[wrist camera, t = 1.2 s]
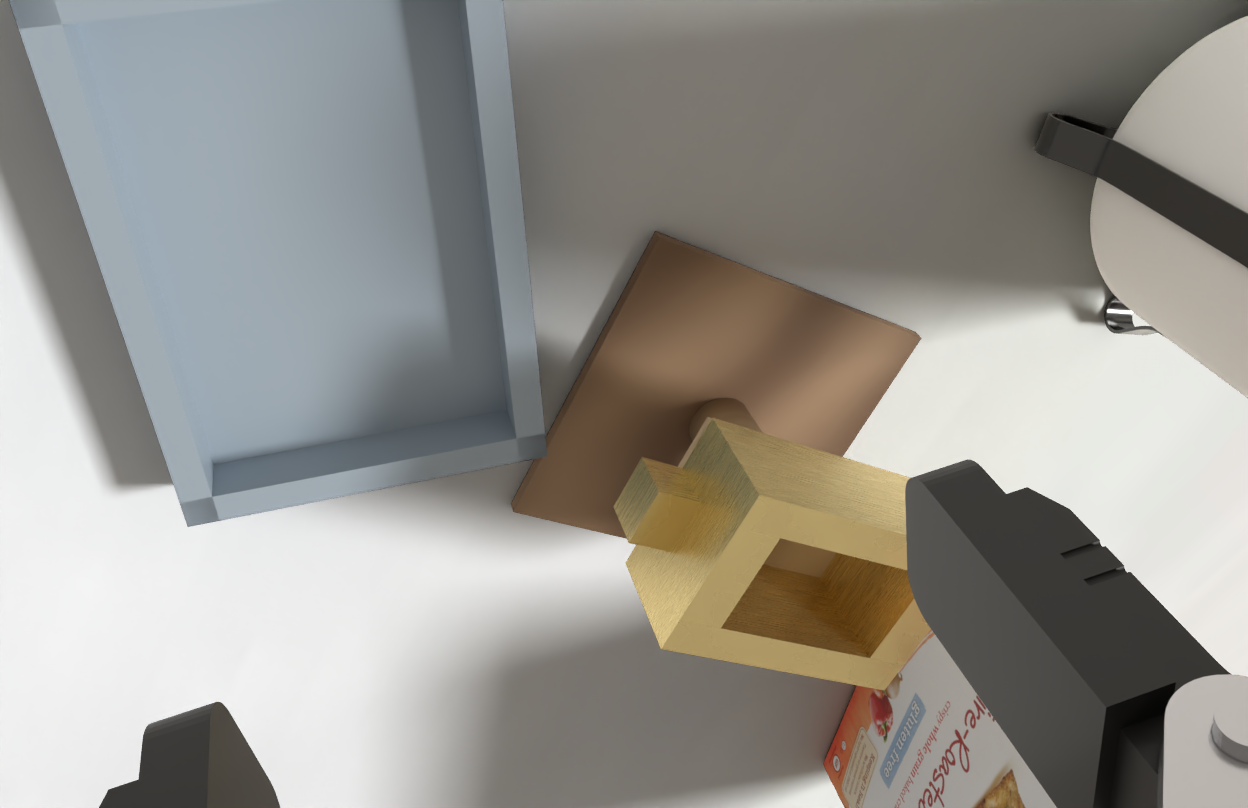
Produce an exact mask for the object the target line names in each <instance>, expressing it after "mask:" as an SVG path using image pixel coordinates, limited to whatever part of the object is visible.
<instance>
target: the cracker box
mask: <svg viewBox="0 0 1248 808" xmlns="http://www.w3.org/2000/svg"><path fill="white" fill-rule="evenodd" d="M824 767H825V769H826V771H827V773H828V775H829V778H830V780H831V782H832V783H833V785H834V787H835V789H836V791H837V794H838V796H839V798H840V800H841V801H842V803H843V805H844V807H845V808H1057V807H1056V806H1055V804H1054V803H1053V801H1052V800H1051V799H1050V797H1049V796H1048V794H1047V793H1046V791H1045V790H1044V789H1043V787H1042V786H1041V784H1040V783H1039V781H1038V780H1037V779H1036V777H1035V776H1034V774H1033V773H1032V772H1031V770H1030V769H1029V767H1028V766H1027V764H1026V763H1025V762H1024V760H1023V759H1022V757H1021V756H1020V754H1019V753H1018V752H1017V750H1016V749H1015V747H1014V746H1013V745H1012V743H1011V742H1010V740H1009V739H1008V737H1007V736H1006V735H1005V733H1004V732H1003V730H1002V729H1001V727H1000V726H999V725H998V723H997V722H996V720H995V719H994V718H993V716H992V715H991V713H990V712H989V710H988V709H987V708H986V706H985V705H984V703H983V702H982V700H981V699H980V698H979V696H978V695H977V693H976V692H975V691H974V689H973V688H972V686H971V685H970V683H969V682H968V681H967V679H966V678H965V676H964V675H963V673H962V672H961V671H960V669H959V668H958V666H957V665H956V664H955V662H954V661H953V659H952V658H951V656H950V655H949V654H948V652H947V651H946V649H945V648H944V646H943V645H942V644H941V642H940V641H939V639H938V638H937V637H936V635H935V634H934V632H933V631H932V629H931V630H930V631H929V633H928V634H927V635H926V636H925V638H924V639H923V640H922V642H921V643H920V644H919V646H918V647H917V648H916V650H915V651H914V652H913V654H912V655H911V656H910V657H909V659H908V660H907V661H906V663H905V664H904V665H903V667H902V668H901V669H900V671H899V672H898V673H897V675H896V676H895V677H894V678H893V680H892V681H891V682H890V684H889V685H888V686H887V688H886V689H885V690H879V689H874V688H868V687H863V686H858V685H857V686H856V688H855V691H854V693H853V695H852V698H851V700H850V702H849V704H848V707H847V709H846V712H845V714H844V716H843V719H842V721H841V724H840V726H839V728H838V731H837V733H836V735H835V737H834V740H833V742H832V745H831V747H830V749H829V751H828V754H827V756H826V758H825V761H824Z"/></svg>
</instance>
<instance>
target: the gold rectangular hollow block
mask: <svg viewBox="0 0 1248 808" xmlns="http://www.w3.org/2000/svg"><path fill="white" fill-rule="evenodd" d="M909 479H910V478H909V477H906V476H903V475H899V474H896V473H893V472H890V471H886V470H883V469H880V468H877V467H873V466H870V465H867V464H863V463H860V462H857V461H854V460H850V459H847V458H844V457H840V456H837V455H834V454H831V453H827V452H824V451H821V450H818V449H814V448H811V447H808V446H804V445H801V444H798V443H795V442H791V441H788V440H785V439H781V438H778V437H775V436H772V435H768V434H765V433H762V432H759V431H755V430H752V429H749V428H745V427H742V426H739V425H736V424H732V423H729V422H726V421H722V420H719V419H716V418H713V417H712V419H711V421H710V422H709V424H708V426H707V427H706V429H705V431H704V432H703V434H702V436H701V437H700V439H699V441H698V442H697V444H696V446H695V447H694V449H693V451H692V452H691V454H690V456H689V457H688V459H687V461H686V463H685V464H684V466H683V468H680V467H676V466H673V465H669V464H666V463H662V462H658V461H655V460H651V459H647V458H644V457H642V458H641V460H640V461H639V463H638V465H637V467H636V468H635V470H634V472H633V474H632V475H631V477H630V479H629V480H628V482H627V484H626V486H625V487H624V489H623V491H622V493H621V494H620V496H619V498H618V500H617V501H616V503H615V505H614V509H615V512H616V514H617V516H618V519H619V521H620V523H621V526H622V528H623V530H624V533H625V535H626V537H627V540H628V542H629V543H632V544H637V545H636V546H635V548H634V550H633V551H632V553H631V555H630V556H629V558H628V560H627V561H626V565H627V568H628V570H629V573H630V575H631V577H632V580H633V582H634V585H635V587H636V590H637V592H638V594H639V597H640V599H641V602H642V604H643V607H644V609H645V611H646V614H647V616H648V619H649V621H650V624H651V626H652V628H653V631H654V633H655V636H656V638H657V640H658V643H659V645H660V648H661V649H663V650H668V651H674V652H679V653H685V654H690V655H695V656H701V657H706V658H712V659H717V660H722V661H728V662H733V663H739V664H744V665H749V666H755V667H760V668H766V669H771V670H777V671H782V672H787V673H793V674H798V675H804V676H809V677H814V678H820V679H825V680H831V681H836V682H841V683H847V684H852V685H858V686H863V687H868V688H874V689H879V690H885V689H886V688H887V686H888V685H889V684H890V682H891V681H892V680H893V678H894V677H895V676H896V675H897V673H898V672H899V671H900V669H901V668H902V667H903V665H904V664H905V663H906V661H907V660H908V659H909V657H910V656H911V655H912V654H913V652H914V651H915V650H916V648H917V647H918V646H919V644H920V643H921V642H922V640H923V639H924V638H925V636H926V635H927V634H928V633H929V631H930V630H931V628H930V627H929V625H928V624H927V622H926V621H925V619H924V617H923V616H922V614H921V612H920V610H919V608H918V606H917V603H916V601H915V599H914V596H913V593H912V590H911V587H910V583H909V578H908V571H907V541H906V504H905V488H906V483H907V481H908V480H909ZM780 538H781V539H785V540H789V541H793V542H797V543H801V544H805V545H809V546H813V547H817V548H821V549H825V550H829V551H833V552H837V554H836V555H835V557H834V558H833V560H832V561H831V563H830V564H829V566H828V567H827V568H826V570H825V571H824V573H823V574H822V576H821V577H820V578H819V577H815V576H811V575H806V574H802V573H798V572H794V571H790V570H785V569H781V568H777V567H773V566H769V565H764V562H765V561H766V559H767V558H768V556H769V555H770V553H771V552H772V550H773V549H774V547H775V546H776V544H777V543H778V541H779V539H780Z"/></svg>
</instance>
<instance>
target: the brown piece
mask: <svg viewBox="0 0 1248 808" xmlns="http://www.w3.org/2000/svg"><path fill="white" fill-rule="evenodd" d="M920 339H921V337H920V336H919V335H918V334H917V333H916V332H914V331H912V330H909V329H907V328H904V327H901V326H899V325H896V324H894V323H891V322H888V321H886V320H883V319H881V318H878V317H876V316H873V315H870V314H868V313H865V312H863V311H860V310H857V309H855V308H852V307H850V306H847V305H845V304H842V303H839V302H837V301H834V300H832V299H829V298H826V297H824V296H821V295H819V294H816V293H813V292H811V291H808V290H806V289H803V288H801V287H798V286H795V285H793V284H790V283H788V282H785V281H782V280H780V279H777V278H775V277H772V276H770V275H767V274H764V273H762V272H759V271H757V270H754V269H751V268H749V267H746V266H744V265H741V264H739V263H736V262H733V261H731V260H728V259H726V258H723V257H720V256H718V255H715V254H713V253H710V252H707V251H705V250H702V249H700V248H697V247H695V246H692V245H689V244H687V243H684V242H682V241H679V240H676V239H674V238H671V237H669V236H666V235H664V234H661V233H658V232H656V231H655V233H654V235H653V237H652V238H651V240H650V242H649V244H648V246H647V248H646V250H645V252H644V254H643V255H642V257H641V259H640V261H639V263H638V265H637V267H636V269H635V271H634V272H633V274H632V276H631V278H630V280H629V282H628V284H627V286H626V288H625V289H624V291H623V293H622V295H621V297H620V299H619V301H618V303H617V305H616V306H615V308H614V310H613V312H612V314H611V316H610V318H609V320H608V322H607V323H606V325H605V327H604V329H603V331H602V333H601V335H600V337H599V339H598V340H597V342H596V344H595V346H594V348H593V350H592V352H591V354H590V356H589V357H588V359H587V361H586V363H585V365H584V367H583V369H582V371H581V373H580V374H579V376H578V378H577V380H576V382H575V384H574V386H573V388H572V390H571V391H570V393H569V395H568V397H567V399H566V401H565V403H564V405H563V407H562V408H561V410H560V412H559V414H558V416H557V418H556V420H555V422H554V424H553V425H552V427H551V429H550V431H549V433H548V435H547V437H546V447H547V457H542V458H537V459H534V461H533V463H532V465H531V467H530V469H529V471H528V473H527V475H526V476H525V478H524V480H523V482H522V484H521V486H520V488H519V490H518V492H517V494H516V495H515V497H514V499H513V501H512V503H511V505H512V509H513V512H516V513H520V514H525V515H529V516H533V517H537V518H542V519H546V520H550V521H554V522H559V523H563V524H567V525H571V526H576V527H580V528H584V529H588V530H593V531H597V532H601V533H605V534H610V535H614V536H618V537H622V538H627V537H626V535H625V533H624V530H623V528H622V526H621V523H620V521H619V519H618V516H617V514H616V512H615V509H614V505H615V503H616V501H617V500H618V498H619V496H620V494H621V493H622V491H623V489H624V487H625V486H626V484H627V482H628V480H629V479H630V477H631V475H632V474H633V472H634V470H635V468H636V467H637V465H638V463H639V461H640V460H641V458H642V457H644V458H647V459H651V460H655V461H658V462H662V463H666V464H669V465H673V466H676V467H680V468H683V466H684V464H685V463H686V461H687V459H688V457H689V456H690V454H691V452H692V451H693V449H694V447H695V446H696V444H697V442H698V441H699V439H700V437H701V436H702V434H703V432H704V431H705V429H706V427H707V426H708V424H709V422H710V421H711V419H712V417H713V418H716V419H719V420H722V421H726V422H729V423H732V424H736V425H739V426H742V427H745V428H749V429H752V430H755V431H759V432H762V433H765V434H768V435H772V436H775V437H778V438H781V439H785V440H788V441H791V442H795V443H798V444H801V445H804V446H808V447H811V448H814V449H818V450H821V451H824V452H827V453H831V454H834V455H837V456H840V457H843V455H844V454H845V452H846V451H847V449H848V448H849V446H850V445H851V443H852V442H853V440H854V439H855V437H856V436H857V434H858V433H859V431H860V430H861V428H862V427H863V425H864V424H865V422H866V421H867V419H868V418H869V416H870V415H871V413H872V412H873V410H874V409H875V407H876V406H877V404H878V403H879V401H880V400H881V398H882V397H883V395H884V394H885V392H886V391H887V389H888V388H889V386H890V385H891V383H892V382H893V380H894V379H895V377H896V376H897V374H898V373H899V371H900V370H901V368H902V367H903V365H904V364H905V362H906V361H907V359H908V358H909V356H910V355H911V353H912V352H913V350H914V349H915V347H916V346H917V344H918V342H919V341H920ZM836 554H837V552H833V551H829V550H825V549H821V548H817V547H813V546H809V545H805V544H801V543H797V542H793V541H789V540H785V539H781V538H780V539H779V541H778V543H777V544H776V546H775V547H774V549H773V550H772V552H771V553H770V555H769V556H768V558H767V559H766V561H765V562H764V565H769V566H773V567H777V568H781V569H785V570H790V571H794V572H798V573H802V574H806V575H811V576H815V577H819V578H820V577H821V576H822V574H823V573H824V571H825V570H826V568H827V567H828V566H829V564H830V563H831V561H832V560H833V558H834V557H835V555H836Z"/></svg>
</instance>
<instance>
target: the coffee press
mask: <svg viewBox="0 0 1248 808" xmlns="http://www.w3.org/2000/svg"><path fill="white" fill-rule="evenodd" d="M1034 150H1035V151H1036V152H1037V153H1039V154H1041V155H1043V156H1045V157H1047V158H1050V159H1052V160H1055V161H1058V162H1060V163H1063V164H1066V165H1068V166H1071V167H1074V168H1076V169H1079V170H1082V171H1084V172H1087V173H1089V174H1091V175H1094V176H1096V177H1097V180H1096V184H1095V188H1094V193H1093V198H1092V205H1091V216H1090V231H1091V242H1092V248H1093V253H1094V257H1095V260H1096V263H1097V266H1098V269H1099V271H1100V273H1101V276H1102V277H1103V279H1104V281H1105V283H1106V284H1107V286H1108V287H1109V289H1110V290H1111V291H1112V293H1113V294H1114V295H1115V296H1114V297H1113V298H1112V299H1111V300H1110V301H1109V302H1108V304H1107V306H1106V308H1105V313H1104V319H1105V324H1106V326H1107V328H1108V329H1109V330H1110V331H1111V332H1113V333H1118V334H1134V335H1148V334H1153V333H1160V334H1161V335H1163V336H1165V337H1166V338H1167V339H1169V340H1170V341H1172V342H1173V343H1174V344H1176V345H1177V346H1178V347H1180V348H1181V349H1182V350H1184V351H1185V352H1186V353H1188V354H1189V355H1190V356H1192V357H1193V358H1194V359H1196V360H1197V361H1198V362H1200V363H1201V364H1202V365H1204V366H1205V367H1206V368H1208V369H1209V370H1210V371H1212V372H1213V373H1214V374H1216V375H1217V376H1219V377H1220V378H1221V379H1223V380H1224V381H1225V382H1227V383H1228V384H1229V385H1231V386H1232V387H1233V388H1235V389H1236V390H1237V391H1239V392H1240V393H1241V394H1243V395H1244V396H1245V397H1247V398H1248V16H1246V17H1243V18H1241V19H1238V20H1236V21H1234V22H1232V23H1230V24H1228V25H1226V26H1224V27H1222V28H1220V29H1218V30H1216V31H1214V32H1213V33H1211V34H1209V35H1208V36H1206V37H1205V38H1203V39H1202V40H1200V41H1199V42H1197V43H1196V44H1194V45H1193V46H1192V47H1190V48H1189V49H1188V50H1186V51H1185V52H1184V53H1182V54H1181V55H1180V56H1179V57H1178V58H1176V59H1175V60H1174V61H1173V62H1172V63H1171V64H1170V65H1169V66H1168V67H1166V68H1165V69H1164V70H1163V71H1162V72H1161V73H1160V74H1159V75H1158V76H1157V77H1156V79H1155V80H1154V81H1153V82H1152V83H1151V84H1150V85H1149V86H1148V87H1147V89H1146V90H1145V91H1144V92H1143V93H1142V95H1141V96H1140V97H1139V98H1138V100H1137V101H1136V102H1135V104H1134V105H1133V106H1132V108H1131V109H1130V111H1129V112H1128V114H1127V115H1126V117H1125V118H1124V120H1123V121H1122V123H1121V125H1120V126H1119V128H1118V129H1114V128H1110V127H1106V126H1103V125H1099V124H1096V123H1093V122H1090V121H1087V120H1084V119H1080V118H1077V117H1074V116H1071V115H1067V114H1063V113H1057V112H1050V113H1049V114H1048V116H1047V119H1046V121H1045V124H1044V126H1043V129H1042V131H1041V134H1040V136H1039V138H1038V141H1037V143H1036V146H1035V148H1034ZM1133 312H1134V313H1135V314H1136V315H1138V316H1139V317H1140V318H1141V319H1143V320H1144V321H1145V322H1147V323H1148V324H1149V325H1151V326H1139V327H1134V325H1133V322H1132V314H1133Z"/></svg>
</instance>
